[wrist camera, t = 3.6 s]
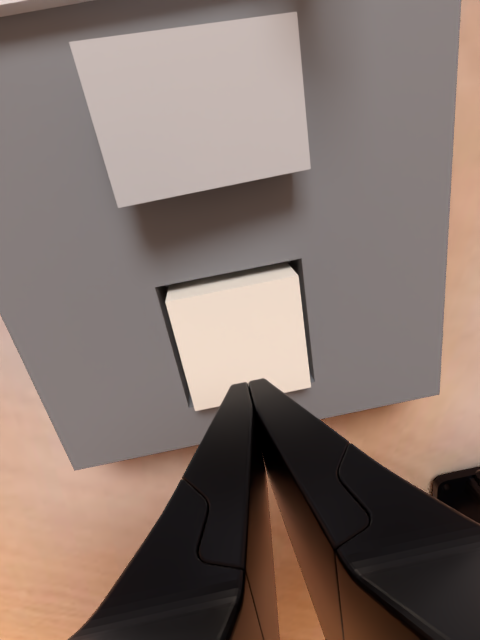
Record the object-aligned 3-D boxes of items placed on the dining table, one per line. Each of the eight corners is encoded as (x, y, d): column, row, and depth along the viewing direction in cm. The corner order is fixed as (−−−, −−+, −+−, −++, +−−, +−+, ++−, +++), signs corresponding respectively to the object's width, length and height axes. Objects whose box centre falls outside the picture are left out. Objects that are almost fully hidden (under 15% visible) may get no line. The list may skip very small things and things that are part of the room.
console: (400, 356, 17) (448, 403, 14) (94, 419, 17) (69, 483, 13) (402, -368, 9) (523, -677, 6) (-192, -275, 9) (-436, -547, 5)
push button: (293, 351, 15) (311, 387, 13) (195, 371, 15) (195, 411, 13) (280, 255, 13) (298, 275, 11) (171, 276, 13) (165, 301, 11)
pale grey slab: (295, 169, 10) (310, 168, 9) (120, 204, 10) (117, 207, 9) (281, 27, 9) (296, 11, 8) (76, 55, 8) (68, 41, 7)
